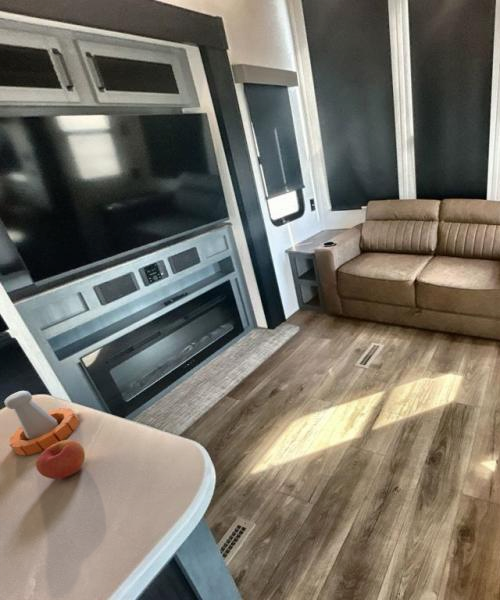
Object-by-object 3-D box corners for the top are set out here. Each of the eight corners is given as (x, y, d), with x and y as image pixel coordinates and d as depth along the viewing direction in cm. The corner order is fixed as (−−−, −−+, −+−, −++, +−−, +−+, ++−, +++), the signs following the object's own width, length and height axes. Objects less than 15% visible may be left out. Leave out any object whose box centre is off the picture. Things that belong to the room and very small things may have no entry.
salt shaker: (31, 437, 88) (-3, 397, 82) (60, 422, 92) (30, 383, 85) (33, 449, 84) (-3, 408, 78) (63, 434, 88) (32, 393, 82)
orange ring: (5, 462, 82) (-4, 453, 80) (34, 425, 92) (27, 416, 90) (65, 445, 84) (58, 436, 83) (87, 411, 94) (81, 402, 93)
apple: (86, 451, 82) (66, 426, 78) (97, 466, 78) (78, 440, 74) (45, 477, 77) (23, 451, 73) (55, 493, 73) (32, 467, 69)
